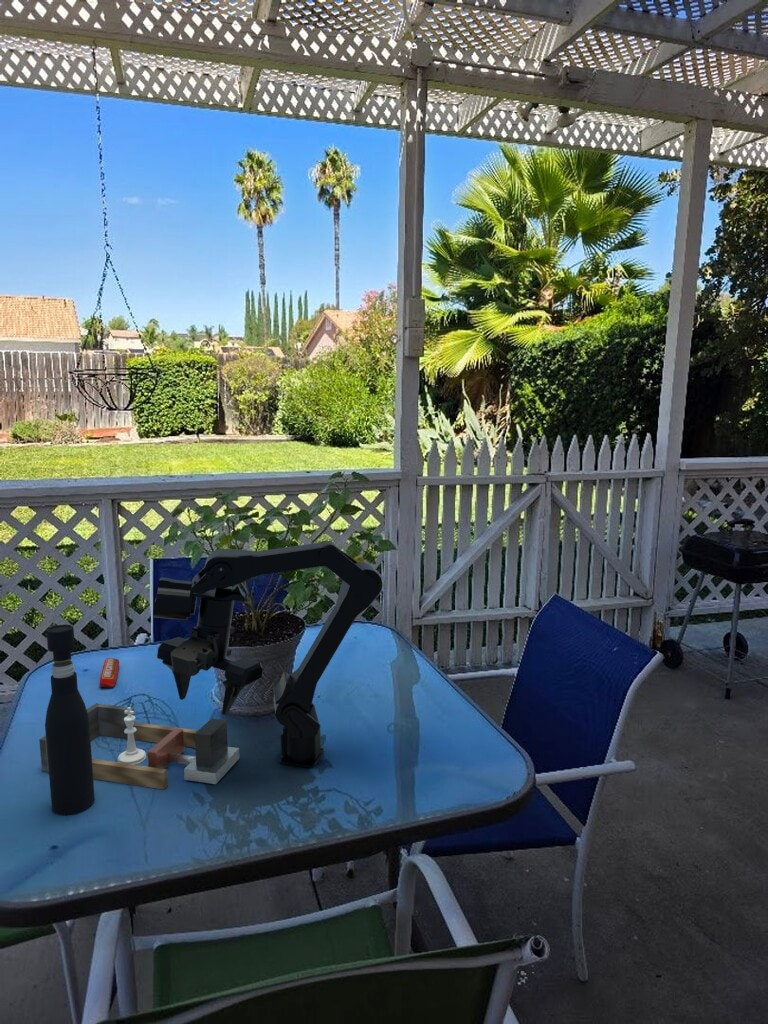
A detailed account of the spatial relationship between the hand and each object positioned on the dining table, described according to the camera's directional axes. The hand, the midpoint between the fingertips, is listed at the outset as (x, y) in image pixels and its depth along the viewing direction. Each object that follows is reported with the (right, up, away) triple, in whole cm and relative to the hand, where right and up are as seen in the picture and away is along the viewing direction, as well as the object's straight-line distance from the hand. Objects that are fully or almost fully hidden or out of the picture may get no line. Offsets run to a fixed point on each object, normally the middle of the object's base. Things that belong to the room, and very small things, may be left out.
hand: (203, 706), depth 120 cm
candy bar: (-34, -6, +44) cm, 56 cm away
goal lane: (-16, -11, +6) cm, 20 cm away
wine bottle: (-19, -14, -9) cm, 25 cm away
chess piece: (-15, -11, +5) cm, 19 cm away
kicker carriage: (-2, -11, +2) cm, 12 cm away
